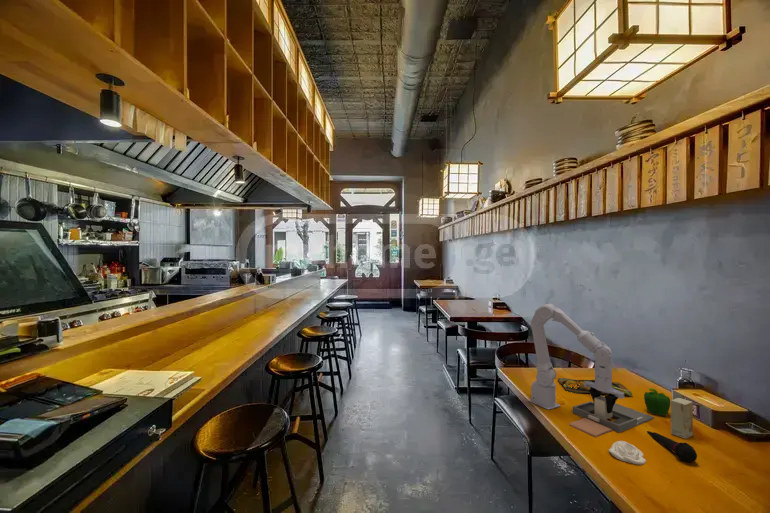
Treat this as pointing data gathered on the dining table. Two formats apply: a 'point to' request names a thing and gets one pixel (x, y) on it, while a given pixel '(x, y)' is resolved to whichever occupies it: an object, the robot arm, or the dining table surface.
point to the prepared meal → (584, 389)
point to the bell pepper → (657, 402)
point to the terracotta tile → (590, 427)
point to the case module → (601, 408)
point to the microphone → (676, 447)
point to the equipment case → (613, 416)
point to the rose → (627, 453)
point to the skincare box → (682, 418)
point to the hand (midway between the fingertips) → (603, 410)
